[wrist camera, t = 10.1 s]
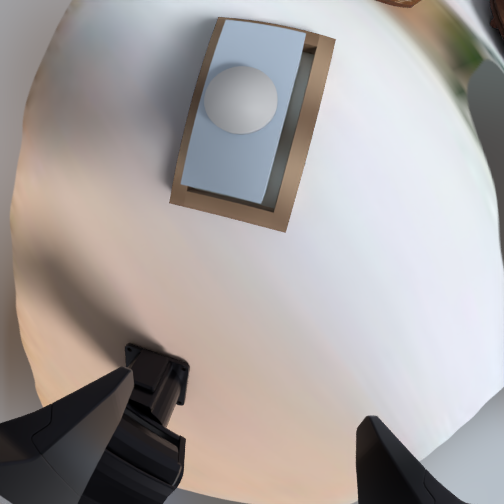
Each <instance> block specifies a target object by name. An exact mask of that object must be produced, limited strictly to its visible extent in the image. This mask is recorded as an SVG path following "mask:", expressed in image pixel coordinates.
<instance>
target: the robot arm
mask: <svg viewBox="0 0 504 504" xmlns="http://www.w3.org/2000/svg"><path fill="white" fill-rule="evenodd" d="M130 348H131V349H130ZM125 356H126V367H123V366H122V367H119V368H118V369H116V370H114V371H112V372H110V373H108V374H107V375H105V376H103V377H101V378H99V379H97V380H96V381H94V382H92V383H89V384H88V385H86V386H84V387H82V388H81V389H79V390H77V391H75V392H73V393H71V394H69V395H67V396H65V397H63V398H61V399H59V400H57V401H56V402H54V403H52V404H49V405H47V406H45V407H43V408H42V409H39V410H37V411H35V412H32V413H30V414H27V415H24V416H22V417H18V418H15V419H12V420H9V421H6V422H3V423H0V504H163V503H164V501H165V500H166V498H167V497H168V496H169V495H170V494H171V493H172V492H173V491H174V490H175V489H176V488H177V487H178V485H179V483H180V481H181V479H182V476H183V472H184V458H185V442H186V438H184V437H182V436H179V435H177V434H175V433H174V432H172V431H170V430H169V429H167V428H166V427H167V425H168V422H169V420H170V417H171V415H172V412H173V410H174V407H175V405H176V404H177V405H184V403H185V398H186V391H187V384H188V377H189V370H190V366H189V365H188V364H187V363H185V362H182V361H179V360H175V359H172V358H169V357H167V356H164V355H161V354H158V353H155V352H152V351H150V350H147V349H144V348H142V347H139V346H136V345H134V344H131V343H128V344H127V345H126V346H125ZM183 367H184V368H183ZM356 473H357V487H358V504H469V503H465V502H463V501H461V500H460V499H458V498H457V497H456V496H455V495H453V494H452V493H451V492H450V491H449V490H447V489H446V488H445V487H444V486H443V485H442V484H440V483H439V482H438V481H437V480H436V479H435V478H434V477H433V476H432V475H431V474H430V473H429V472H428V471H427V470H425V468H424V466H423V465H422V464H421V463H420V462H419V461H418V460H417V459H416V458H415V457H414V456H413V455H412V454H411V452H410V451H409V450H408V449H407V448H406V447H405V446H404V445H403V444H402V443H401V442H400V441H399V439H398V438H397V437H396V436H395V435H394V434H393V433H392V432H391V431H390V430H389V429H388V427H387V426H386V425H385V424H384V423H383V422H382V421H381V420H380V419H379V418H378V417H377V416H366V417H365V419H364V420H363V421H362V422H361V424H360V425H359V426H358V428H357V431H356Z"/></svg>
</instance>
